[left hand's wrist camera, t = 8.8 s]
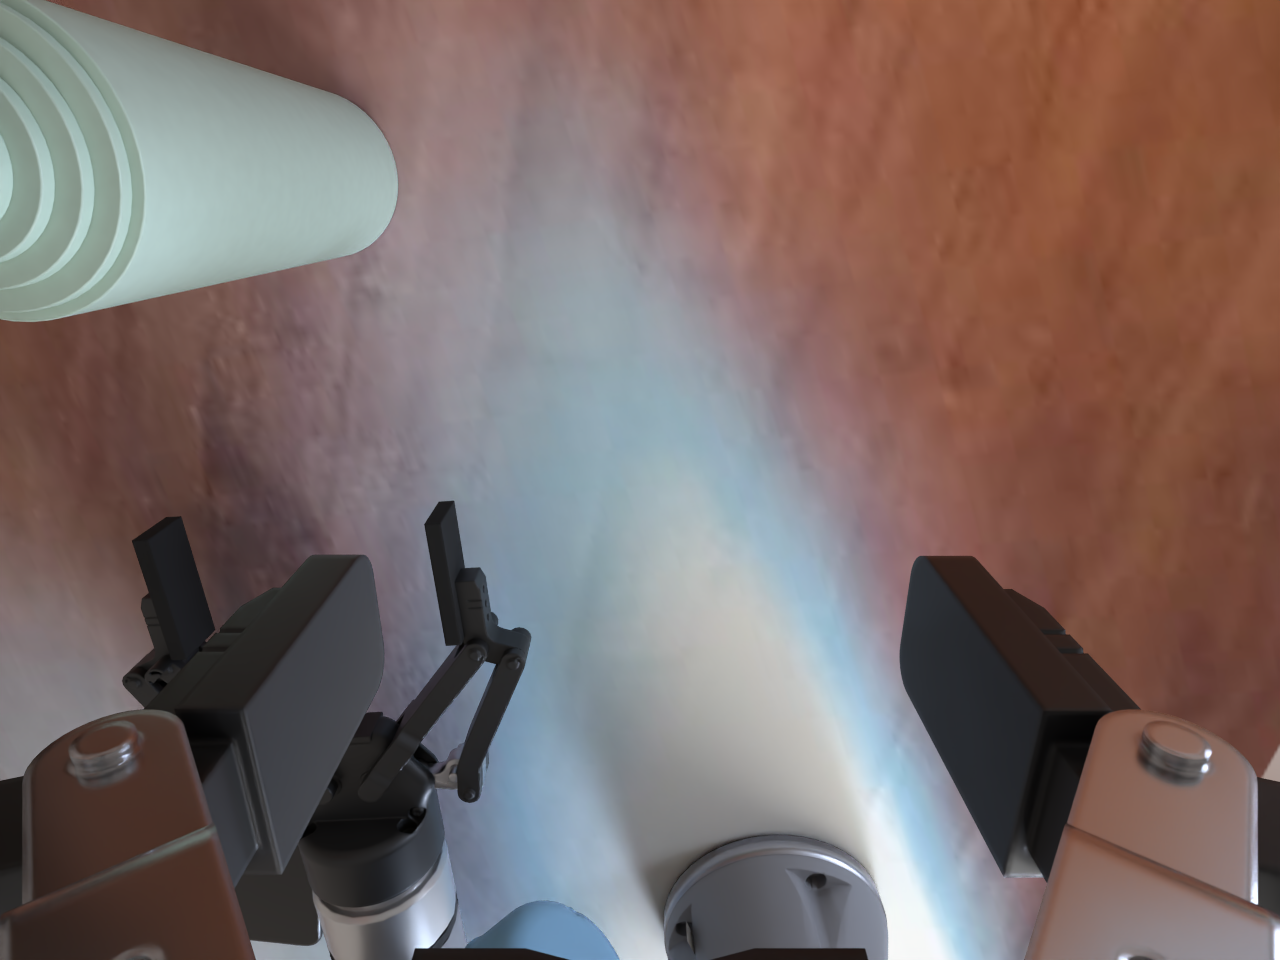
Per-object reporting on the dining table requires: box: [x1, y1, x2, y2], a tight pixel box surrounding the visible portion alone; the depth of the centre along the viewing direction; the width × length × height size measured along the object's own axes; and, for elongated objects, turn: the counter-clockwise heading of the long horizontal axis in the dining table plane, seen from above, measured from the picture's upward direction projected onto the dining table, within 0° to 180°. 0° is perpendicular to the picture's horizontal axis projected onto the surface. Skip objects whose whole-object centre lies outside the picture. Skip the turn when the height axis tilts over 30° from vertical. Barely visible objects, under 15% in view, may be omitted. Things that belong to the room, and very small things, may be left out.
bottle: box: [0, 0, 398, 322], centre depth 25 cm, size 8×8×24 cm
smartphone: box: [235, 844, 323, 946], centre depth 51 cm, size 8×1×16 cm
